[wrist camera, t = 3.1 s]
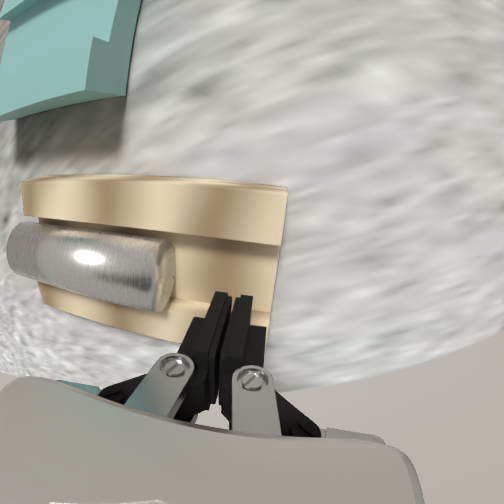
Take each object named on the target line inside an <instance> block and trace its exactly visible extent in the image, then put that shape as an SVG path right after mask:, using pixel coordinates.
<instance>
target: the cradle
mask: <svg viewBox="0 0 504 504" xmlns="http://www.w3.org/2000/svg"><path fill="white" fill-rule="evenodd" d="M140 3H141V0H5V2H4V5H3V8H2V10H1V13H0V19H2V20H9V21H11V23H10V26H9V30H8V33H7V37H6V41H5V45H4V50H3V54H2V59H1V64H0V121H6V120H14V119H18V118H21V117H25V116H28V115H31V114H35V113H38V112H42V111H46V110H50V109H54V108H58V107H63V106H67V105H72V104H77V103H82V102H87V101H93V100H99V99H105V98H112V97H119V96H126V86H127V77H128V69H129V62H130V55H131V49H132V43H133V37H134V31H135V26H136V21H137V17H138V12H139V8H140Z"/></svg>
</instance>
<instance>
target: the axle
mask: <svg viewBox="0 0 504 504" xmlns="http://www.w3.org/2000/svg"><path fill="white" fill-rule="evenodd" d="M6 252H7V260H8V263H9V265H10V267H11V269H12V270H13V271H14V272H15V273H16V274H18V275H21V276H24V277H27V278H30V279H33V280H36V281H39V282H42V283H45V284H48V285H51V286H55V287H58V288H61V289H65V290H68V291H72V292H75V293H79V294H82V295H86V296H89V297H93V298H97V299H101V300H105V301H109V302H112V303H117V304H121V305H125V306H129V307H133V308H137V309H142V310H146V311H151V312H155V313H158V312H160V311H162V310H163V309H164V307H165V306H166V304H167V302H168V300H169V298H170V295H171V292H172V288H173V284H174V278H175V267H176V263H175V251H174V247H173V245H172V243H171V241H169V240H168V239H160V238H152V237H144V236H137V235H129V234H121V233H113V232H105V231H97V230H90V229H82V228H74V227H66V226H58V225H50V224H42V223H34V222H22V223H20V224H18V225H17V226H16V227H15V228H14V229H13V230H12V232H11V234H10V236H9V239H8V242H7V250H6Z"/></svg>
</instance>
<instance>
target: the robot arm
mask: <svg viewBox="0 0 504 504" xmlns="http://www.w3.org/2000/svg"><path fill="white" fill-rule="evenodd" d="M252 303H253V296H249V295H242V294H241V296H240V297H236V298H235V302H234V305H233V309H232V296H228V293H226V292H219V291H215V294H214V296H213V299H212V301H211V303H210V306H209V308H208V311H207V313H206V316H205V318H201V317H194V318H193V319H192V321H191V324H190V326H189V328H188V330H187V332H186V335H185V337H184V339H183V341H182V343H181V346H180V348H179V350H178V352H177V353H170V354H166V355H164V356H162V357H160V358H159V359H158V360H157V361H156V363H155V364H154V365H153V367H152V368H151V369H150V371H149V372H148V373H147V374H144V375H141V376H138V377H135V378H133V379H130V380H127V381H124V382H120V383H117V384H114V385H111V386H108V387H106V388H104V389H103V390H101V389H100V388H99V387H98V386H91V385H85V384H79V383H73V382H68V381H63V380H52V379H47V378H42V377H32V376H25V377H19V378H16V379H14V380H13V381H11V382H10V383H9V384H8V385H6V386H5V387H4V388H3V389H2V391H1V392H0V504H424V499H423V494H422V490H421V486H420V482H419V479H418V476H417V473H416V470H415V468H414V466H413V464H412V462H411V460H410V459H409V458H408V456H407V455H406V454H404V453H403V452H402V451H400V450H399V449H396V448H394V447H392V446H389V445H386V444H385V442H384V441H383V439H381V438H380V437H378V436H375V435H370V434H363V433H356V432H350V431H344V430H338V429H333V428H327V430H325V429H320V428H319V427H318V426H317V425H316V424H315V423H314V422H313V421H312V420H310V419H309V418H308V417H307V416H305V415H304V414H303V413H302V412H300V411H299V410H298V409H297V408H295V407H294V406H293V405H292V404H290V403H289V402H288V401H287V400H286V399H285V398H283V397H282V396H281V395H280V394H279V393H277V392H276V391H275V389H274V383H273V378H272V375H271V374H270V373H269V372H268V371H267V370H266V369H264V368H263V363H264V352H265V341H266V329H267V327H265V326H257V325H250V321H251V312H252ZM231 311H232V313H231ZM218 391H219V405H221V409H222V410H221V413H222V414H223V415H224V416H225V417H226V419H227V420H228V421H229V430H227V429H220V428H214V427H209V426H203V425H198V424H195V422H196V419H197V416H198V413H200V412H202V411H204V410H209V407H210V404H215V403H216V399H217V395H218Z"/></svg>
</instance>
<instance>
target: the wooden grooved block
mask: <svg viewBox="0 0 504 504" xmlns="http://www.w3.org/2000/svg"><path fill="white" fill-rule="evenodd" d="M21 190H22V200H23V209H24V216H32V217H39V223H42V224H50V225H58V226H66V227H74V228H82V229H90V230H97V231H105V232H113V233H121V234H129V235H137V236H144V237H152V238H160V239H168V240H169V241H171V243H172V245H173V247H174V251H175V263H176V267H175V278H174V284H173V288H172V292H171V295H170V298H169V300H168V302H167V304H166V306H165V307H164V309H163V310H162V311H160V312H158V313H155V312H151V311H146V310H142V309H137V308H133V307H129V306H125V305H121V304H117V303H112V302H109V301H105V300H101V299H97V298H93V297H89V296H86V295H82V294H79V293H75V292H72V291H68V290H65V289H61V288H58V287H55V286H51V285H48V284H45V283H42V282H39V281H37V282H38V286H39V289H40V293H41V296H42V300H43V303H44V304H46V305H49V306H51V307H54V308H57V309H60V310H62V311H65V312H68V313H71V314H74V315H77V316H80V317H83V318H86V319H90V320H93V321H96V322H99V323H103V324H106V325H109V326H113V327H116V328H120V329H124V330H127V331H131V332H135V333H139V334H142V335H146V336H150V337H155V338H159V339H163V340H167V341H172V342H176V343H182V341H183V339H184V337H185V335H186V332H187V330H188V328H189V326H190V324H191V321H192V319H193V318H194V317H201V318H205V316H206V313H207V311H208V308H209V306H210V303H211V301H212V299H213V296H214V294H215V291H219V292H226V293H228V296H232V309H233V305H234V302H235V298H236V297H240V296H241V294H242V295H249V296H253V303H252V312H251V321H250V325H257V326H265V327H267V329H266V341H267V335H268V329H269V321H270V312H271V306H272V299H273V293H274V286H275V279H276V272H277V265H278V258H279V251H280V246H281V241H282V233H283V226H284V218H285V211H286V203H287V187H281V186H273V185H264V184H255V183H246V182H236V181H225V180H213V179H201V178H186V177H169V176H148V175H107V174H80V175H42V176H38V177H35V178H32V179H29V180H25V181H22V182H21ZM231 313H232V311H231ZM266 341H265V347H266ZM264 353H265V352H264Z"/></svg>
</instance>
